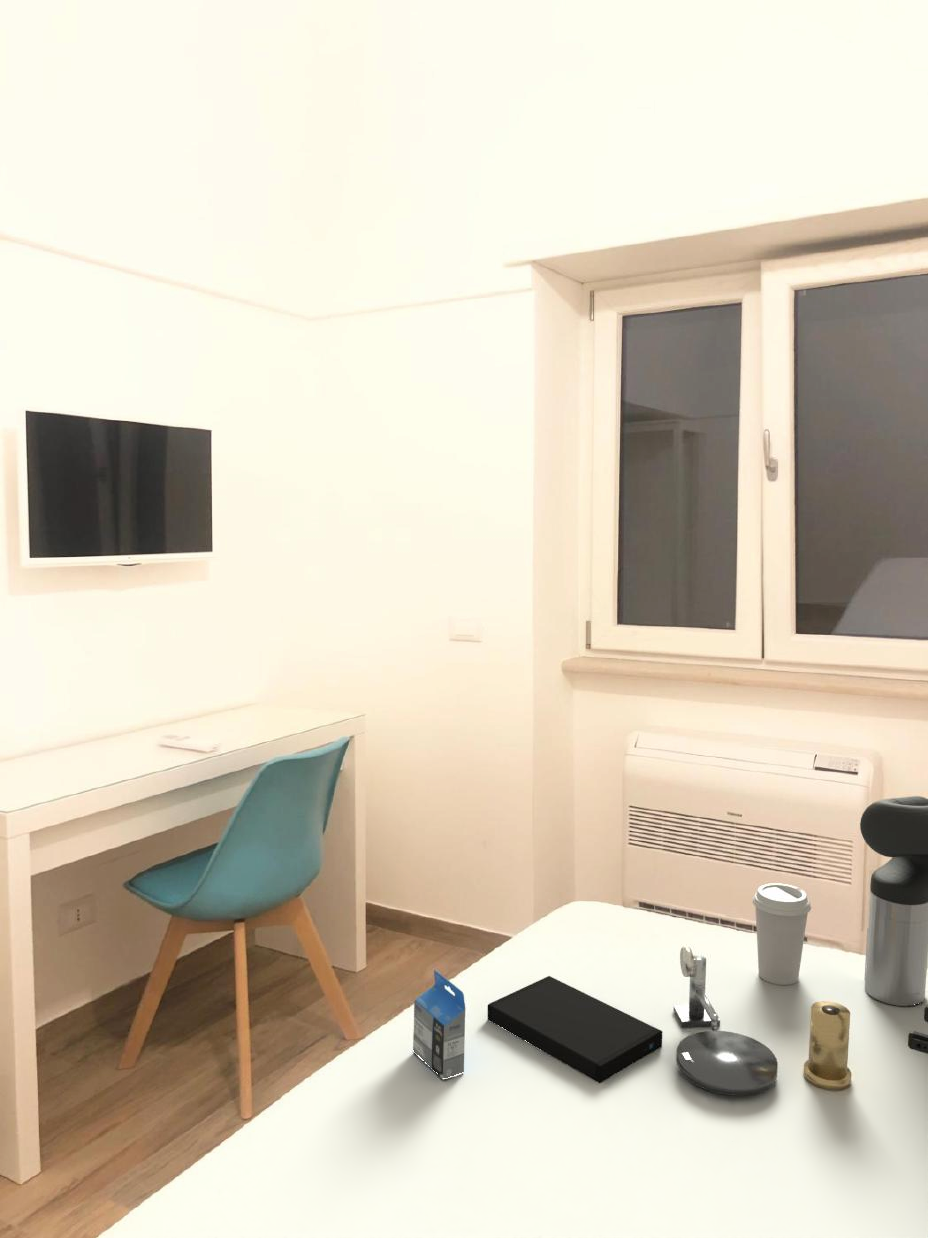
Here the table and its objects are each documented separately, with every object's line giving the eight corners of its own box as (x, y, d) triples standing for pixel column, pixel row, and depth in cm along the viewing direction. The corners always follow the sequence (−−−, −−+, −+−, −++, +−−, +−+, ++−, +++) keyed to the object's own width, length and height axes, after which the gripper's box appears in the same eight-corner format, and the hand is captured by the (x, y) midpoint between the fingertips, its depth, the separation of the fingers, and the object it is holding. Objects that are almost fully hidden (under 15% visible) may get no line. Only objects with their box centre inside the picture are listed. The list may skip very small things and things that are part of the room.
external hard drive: (549, 992, 172) (550, 975, 172) (662, 1049, 155) (662, 1030, 155) (487, 1022, 163) (487, 1004, 162) (600, 1086, 146) (600, 1066, 145)
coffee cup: (815, 990, 172) (819, 904, 170) (757, 989, 172) (761, 903, 170) (797, 963, 182) (801, 881, 180) (743, 962, 182) (746, 881, 180)
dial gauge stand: (673, 1011, 165) (675, 941, 164) (710, 1010, 166) (712, 940, 164) (694, 1053, 153) (697, 978, 152) (734, 1051, 154) (737, 977, 152)
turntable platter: (665, 1041, 155) (665, 1030, 154) (757, 1038, 155) (757, 1027, 155) (691, 1097, 141) (692, 1085, 141) (792, 1093, 142) (792, 1081, 141)
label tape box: (411, 1053, 153) (411, 975, 152) (435, 1045, 156) (435, 968, 154) (442, 1082, 146) (442, 1000, 144) (466, 1074, 148) (466, 993, 146)
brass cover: (796, 1066, 150) (799, 999, 149) (839, 1064, 151) (843, 997, 149) (813, 1092, 144) (817, 1022, 142) (858, 1090, 144) (862, 1020, 143)
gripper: (1064, 1013, 134) (930, 979, 144) (1048, 1061, 123) (904, 1021, 133) (1060, 1067, 135) (928, 1030, 145) (1044, 1120, 124) (901, 1076, 133)
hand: (916, 1025), depth 139 cm, fingers open, 8 cm apart
